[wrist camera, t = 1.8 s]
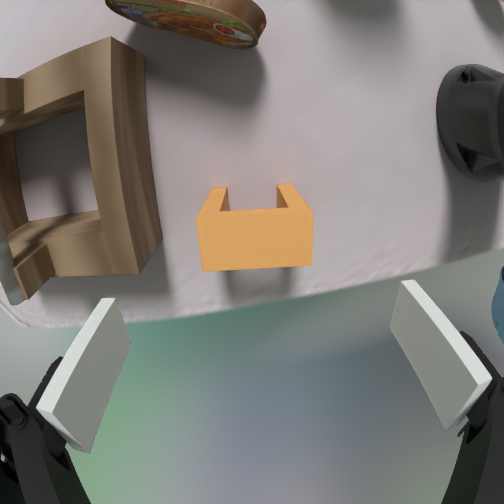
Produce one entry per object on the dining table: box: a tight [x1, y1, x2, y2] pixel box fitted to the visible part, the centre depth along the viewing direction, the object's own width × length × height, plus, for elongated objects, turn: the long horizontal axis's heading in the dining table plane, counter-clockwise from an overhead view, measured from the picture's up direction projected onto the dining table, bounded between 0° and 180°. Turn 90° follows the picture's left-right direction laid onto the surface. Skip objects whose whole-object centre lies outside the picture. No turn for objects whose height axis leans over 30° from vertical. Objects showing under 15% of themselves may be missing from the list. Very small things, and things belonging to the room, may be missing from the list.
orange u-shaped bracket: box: [196, 184, 314, 272], centre depth 25 cm, size 8×4×10 cm, turn 93°
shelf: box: [0, 37, 163, 305], centre depth 20 cm, size 22×20×14 cm
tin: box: [105, 0, 266, 49], centre depth 17 cm, size 15×3×8 cm, turn 66°
